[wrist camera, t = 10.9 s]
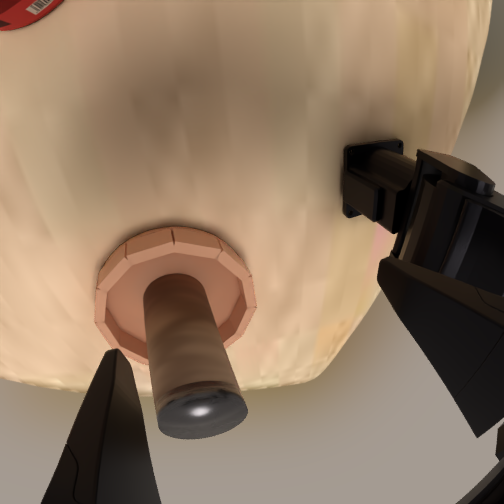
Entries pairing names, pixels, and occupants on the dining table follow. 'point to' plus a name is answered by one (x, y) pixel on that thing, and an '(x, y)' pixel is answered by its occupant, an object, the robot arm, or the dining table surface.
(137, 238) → the terracotta dish
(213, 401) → the pepper mill
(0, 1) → the canned food
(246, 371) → the dining table surface
